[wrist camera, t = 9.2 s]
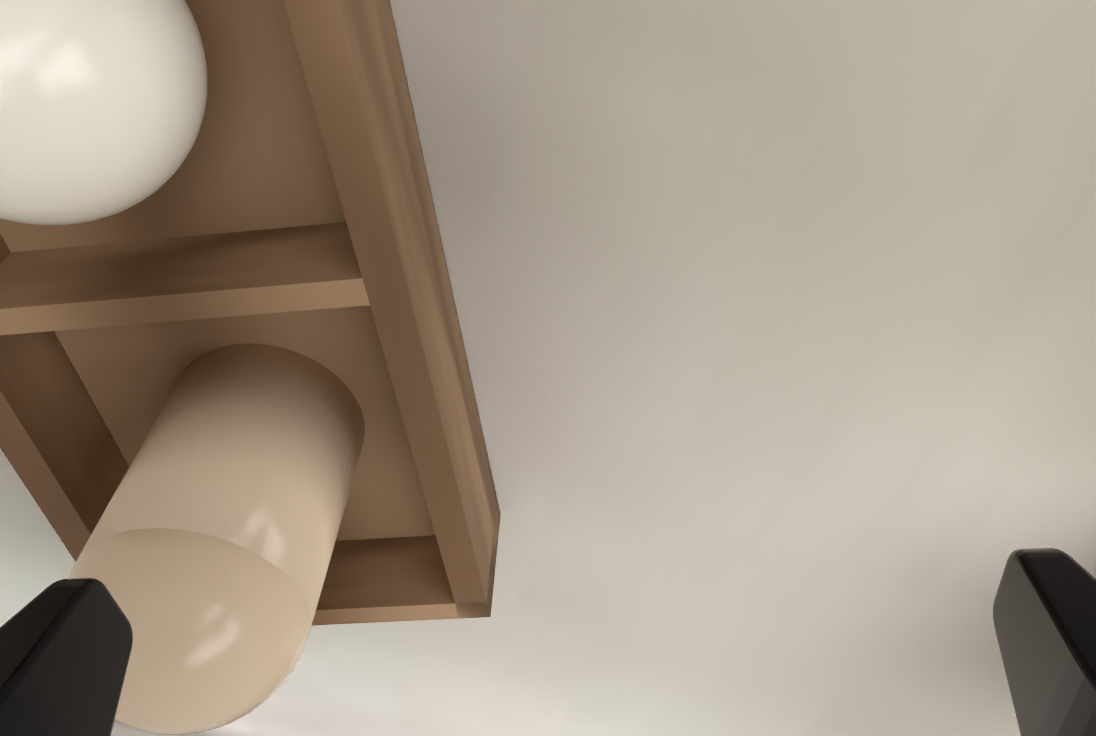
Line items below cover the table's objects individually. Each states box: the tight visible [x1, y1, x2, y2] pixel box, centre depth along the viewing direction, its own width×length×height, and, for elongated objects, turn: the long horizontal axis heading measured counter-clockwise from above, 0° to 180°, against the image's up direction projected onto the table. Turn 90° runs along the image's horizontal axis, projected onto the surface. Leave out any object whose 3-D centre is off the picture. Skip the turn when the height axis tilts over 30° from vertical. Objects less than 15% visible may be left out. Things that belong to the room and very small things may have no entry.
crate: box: [0, 0, 500, 625], centre depth 19 cm, size 10×20×4 cm, turn 7°
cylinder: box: [68, 344, 365, 735], centre depth 19 cm, size 5×5×8 cm
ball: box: [0, 0, 207, 225], centre depth 14 cm, size 5×5×5 cm
